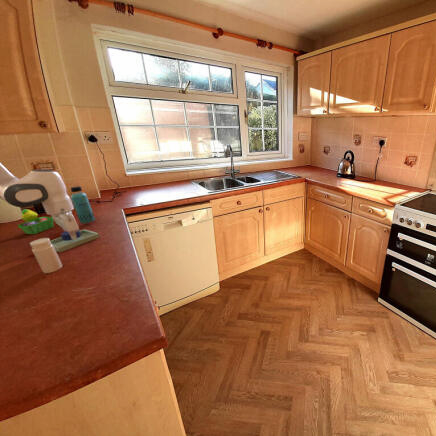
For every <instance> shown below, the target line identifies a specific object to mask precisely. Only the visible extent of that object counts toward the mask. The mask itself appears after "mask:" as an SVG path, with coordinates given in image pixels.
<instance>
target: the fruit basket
mask: <svg viewBox="0 0 436 436" xmlns="http://www.w3.org/2000/svg"><path fill="white" fill-rule="evenodd" d="M20 212H21V218H22V220H23V221H24V222H22V223H20V224H17V227H18V228H19V229H20V230H21V231H23V233H25V234H26V235H37V234H38V233H42V232H45V231H48V230H49V229H53V228H54V219H53V218H52V216H40V217H38V216H39V215H38V213H37V212H35V211H33V210H31V209H26V208H25V209H21V211H20Z"/></svg>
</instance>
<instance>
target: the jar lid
mask: <svg viewBox="0 0 436 436" xmlns="http://www.w3.org/2000/svg"><path fill="white" fill-rule="evenodd" d="M76 236H77V238H79V237H80V236H81V234H80V230H79V231H76ZM60 237H62V240H64V241H69V240H74V239H71V237H70V234H69V233H68V232H67V231H62V232H61V233H60ZM77 238H76V239H77Z"/></svg>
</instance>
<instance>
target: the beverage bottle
mask: <svg viewBox="0 0 436 436" xmlns="http://www.w3.org/2000/svg"><path fill="white" fill-rule="evenodd" d="M70 191H71V193H73V194H71V196H70V199H71V202H72V204H73V207H74V210H75V213H76V216H77V219H78V221H79V223H80V224H88V223H92V222H94V221H96V217H95V215H94V211H93V209H92V206H91V203H90V201H89V198H88V196H87V194H86V193H85V192H82V191H83V189H82V186H79V185H78V186H72V187H71V188H70Z"/></svg>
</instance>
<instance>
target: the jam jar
mask: <svg viewBox="0 0 436 436" xmlns="http://www.w3.org/2000/svg"><path fill="white" fill-rule="evenodd" d="M50 241H51V239H50V238H49V237H41V238H37V239H35V240H33V241H31V242H30V243H29V245H30V247H31V252H32V253H33V255H34V257H35V260H36V262H37V263H38V265H39V267H40V269H41V271H42V273H43V274H49V273H50V274H51V273H53V272H56V271H58V270H60V269H62V268H63V263H62V261H61V259H60V256H59V254H58V253H57V251H56V250H55V248H54V246H53V244H51V242H50Z"/></svg>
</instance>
